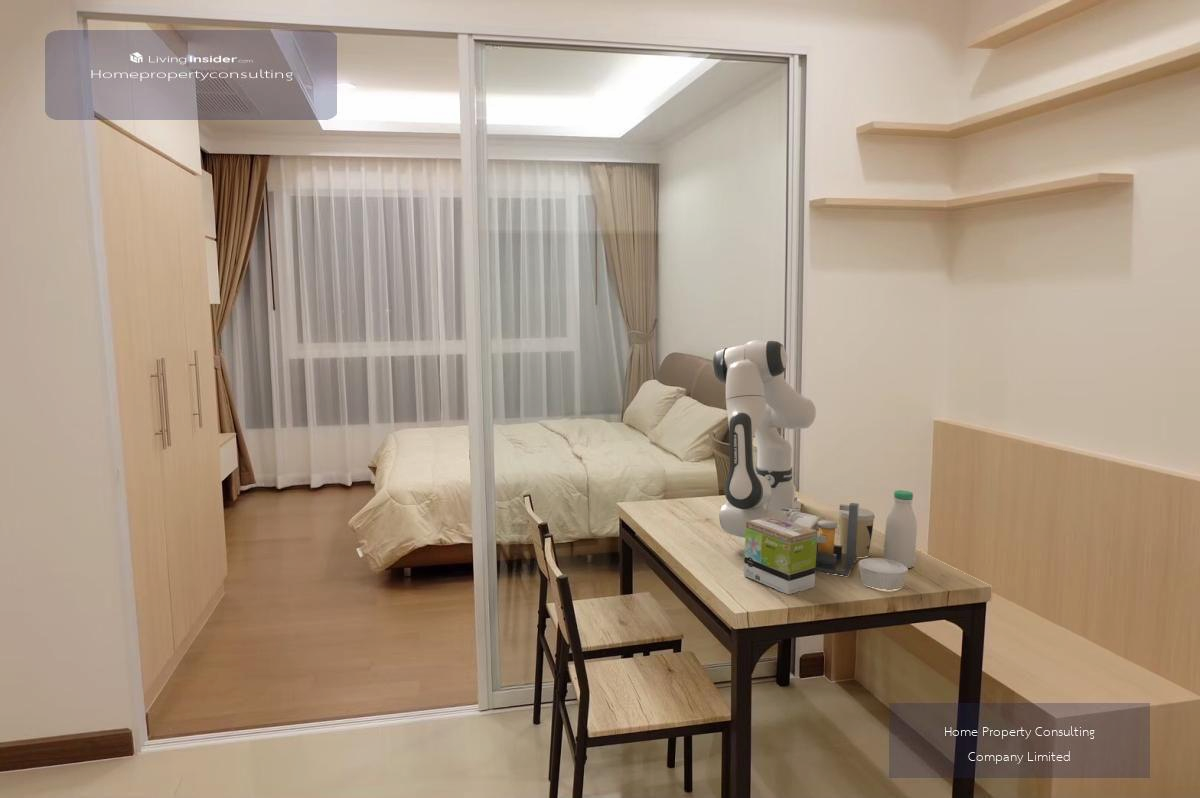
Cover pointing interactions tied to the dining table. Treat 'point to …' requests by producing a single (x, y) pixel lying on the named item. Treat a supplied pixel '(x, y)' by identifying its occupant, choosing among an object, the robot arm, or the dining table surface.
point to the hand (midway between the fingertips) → (829, 534)
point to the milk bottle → (901, 530)
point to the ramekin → (882, 573)
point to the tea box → (780, 554)
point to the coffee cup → (863, 531)
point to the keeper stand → (838, 560)
